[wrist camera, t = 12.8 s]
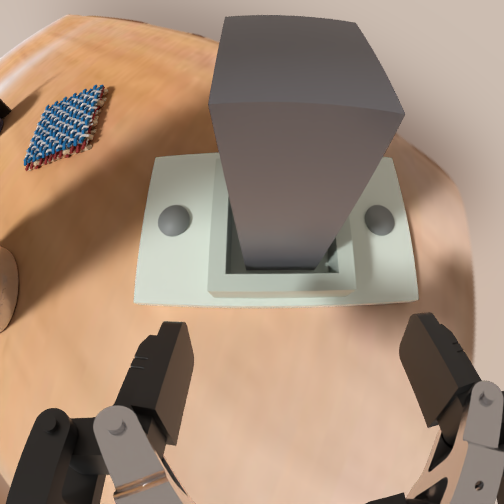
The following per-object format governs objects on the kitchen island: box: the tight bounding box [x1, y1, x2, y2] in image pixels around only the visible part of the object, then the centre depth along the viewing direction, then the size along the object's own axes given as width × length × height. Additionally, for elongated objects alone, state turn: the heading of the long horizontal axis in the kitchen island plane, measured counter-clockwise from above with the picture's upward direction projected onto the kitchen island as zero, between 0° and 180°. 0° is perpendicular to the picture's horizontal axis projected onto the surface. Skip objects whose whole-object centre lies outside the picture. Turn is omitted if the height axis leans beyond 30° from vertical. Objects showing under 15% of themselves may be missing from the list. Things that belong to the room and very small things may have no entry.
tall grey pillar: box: [208, 15, 405, 270], centre depth 13 cm, size 4×5×14 cm
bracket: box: [134, 153, 419, 308], centre depth 19 cm, size 20×12×4 cm, turn 90°
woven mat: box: [24, 85, 108, 171], centre depth 26 cm, size 10×11×2 cm
